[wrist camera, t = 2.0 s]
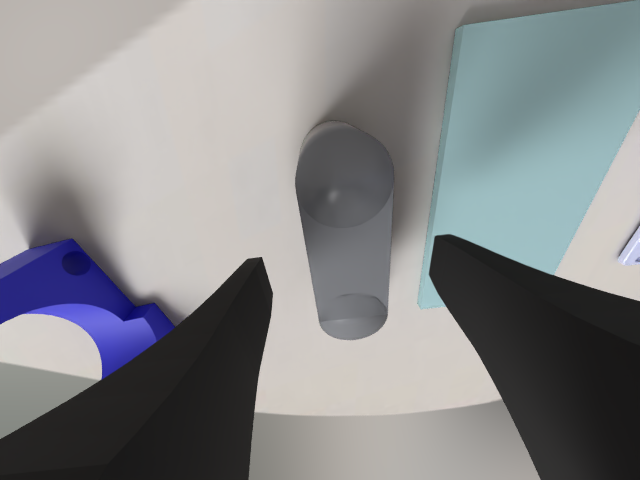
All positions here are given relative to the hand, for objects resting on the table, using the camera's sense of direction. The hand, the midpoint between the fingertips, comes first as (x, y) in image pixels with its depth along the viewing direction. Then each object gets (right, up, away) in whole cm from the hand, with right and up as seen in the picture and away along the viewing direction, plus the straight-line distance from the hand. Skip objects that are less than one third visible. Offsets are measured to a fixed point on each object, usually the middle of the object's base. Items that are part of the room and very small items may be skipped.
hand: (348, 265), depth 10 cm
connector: (0, +2, +4) cm, 5 cm away
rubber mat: (+10, +4, +4) cm, 11 cm away
